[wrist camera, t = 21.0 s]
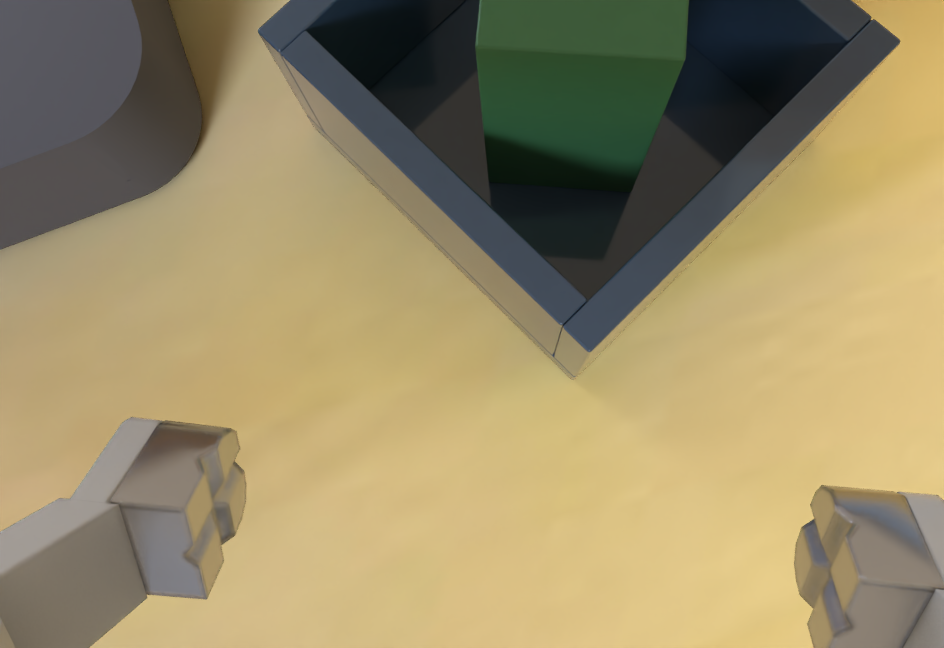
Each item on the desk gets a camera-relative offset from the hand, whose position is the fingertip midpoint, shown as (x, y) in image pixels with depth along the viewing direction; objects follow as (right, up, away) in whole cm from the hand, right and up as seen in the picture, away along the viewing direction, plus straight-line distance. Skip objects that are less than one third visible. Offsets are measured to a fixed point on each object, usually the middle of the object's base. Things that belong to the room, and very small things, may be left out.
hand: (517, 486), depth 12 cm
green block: (+3, +9, +16) cm, 19 cm away
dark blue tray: (+2, +9, +17) cm, 20 cm away
